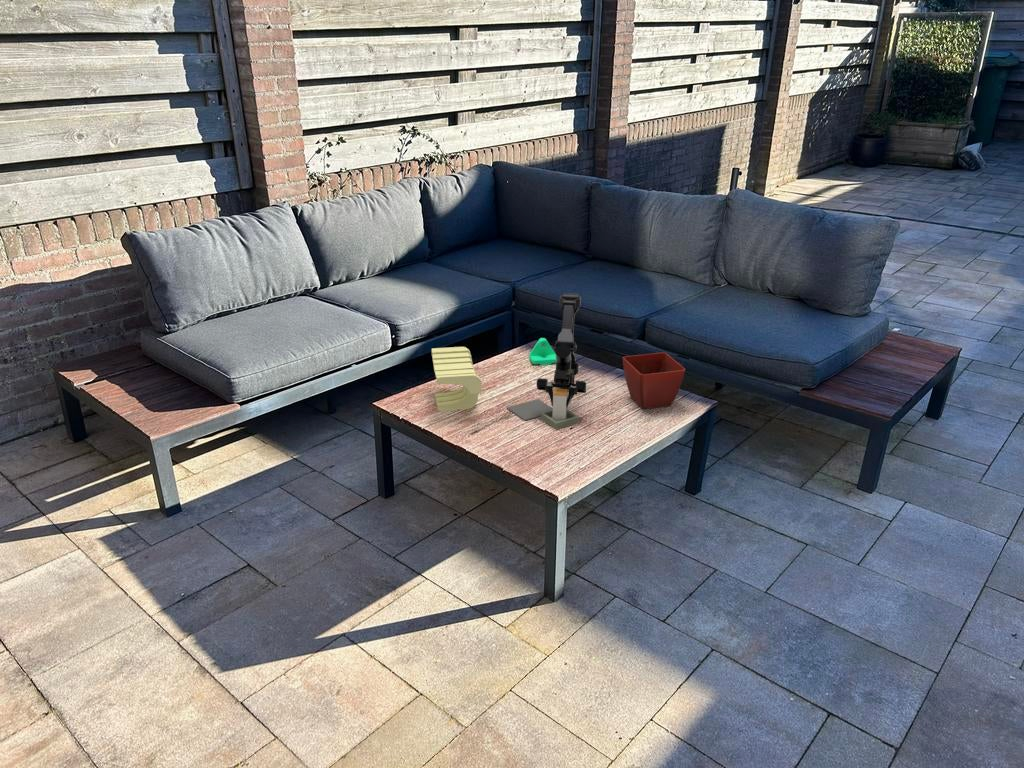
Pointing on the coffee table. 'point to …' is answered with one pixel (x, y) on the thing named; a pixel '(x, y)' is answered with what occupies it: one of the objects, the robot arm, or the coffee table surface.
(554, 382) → the robot arm
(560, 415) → the block
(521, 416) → the rubber mat
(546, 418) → the case bay
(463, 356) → the slatted curved stool
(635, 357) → the plant pot
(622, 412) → the coffee table surface
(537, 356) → the camera mount
